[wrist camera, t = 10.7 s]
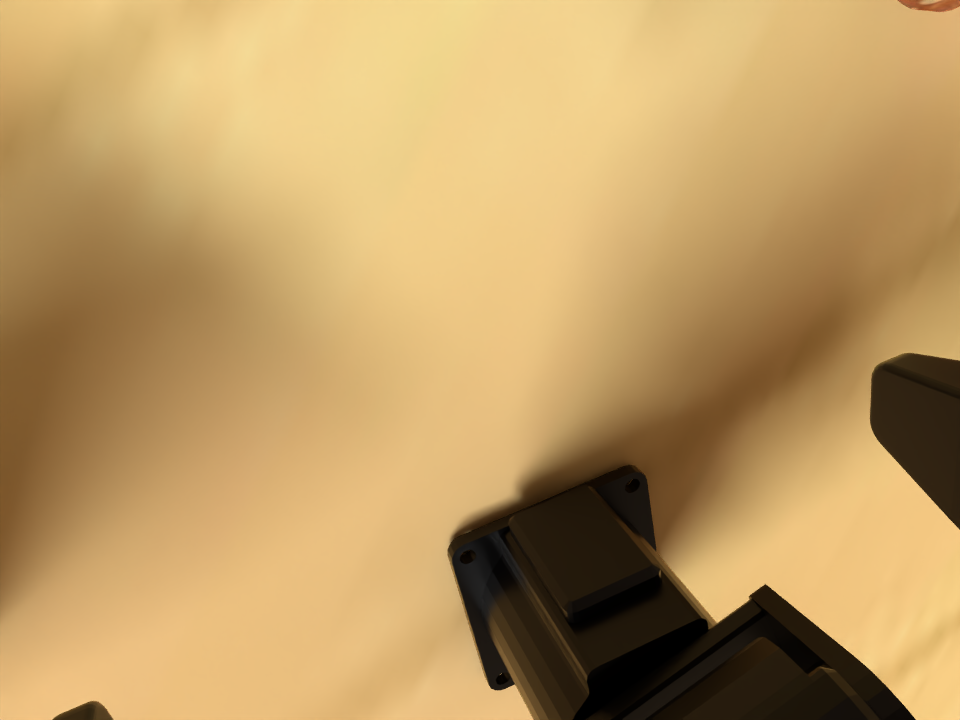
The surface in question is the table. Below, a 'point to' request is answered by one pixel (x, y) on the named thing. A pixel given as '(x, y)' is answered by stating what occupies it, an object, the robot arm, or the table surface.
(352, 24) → the table surface
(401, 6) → the table surface
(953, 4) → the slice of bread
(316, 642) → the table surface
